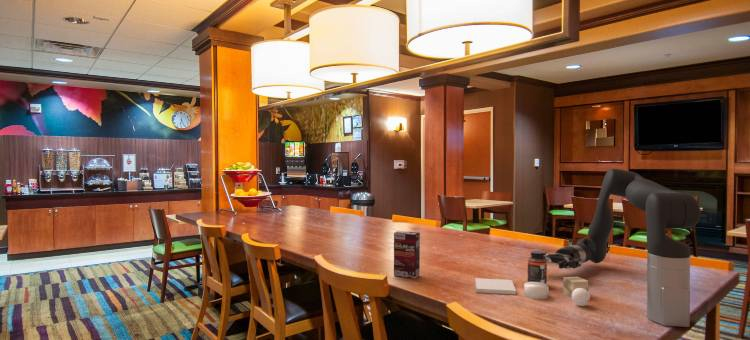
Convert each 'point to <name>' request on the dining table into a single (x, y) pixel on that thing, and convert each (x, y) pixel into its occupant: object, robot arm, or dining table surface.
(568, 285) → the maple block
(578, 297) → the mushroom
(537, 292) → the white rounded puck
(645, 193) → the robot arm
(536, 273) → the supplement bottle
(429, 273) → the dining table surface
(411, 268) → the supplement box
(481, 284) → the plate
